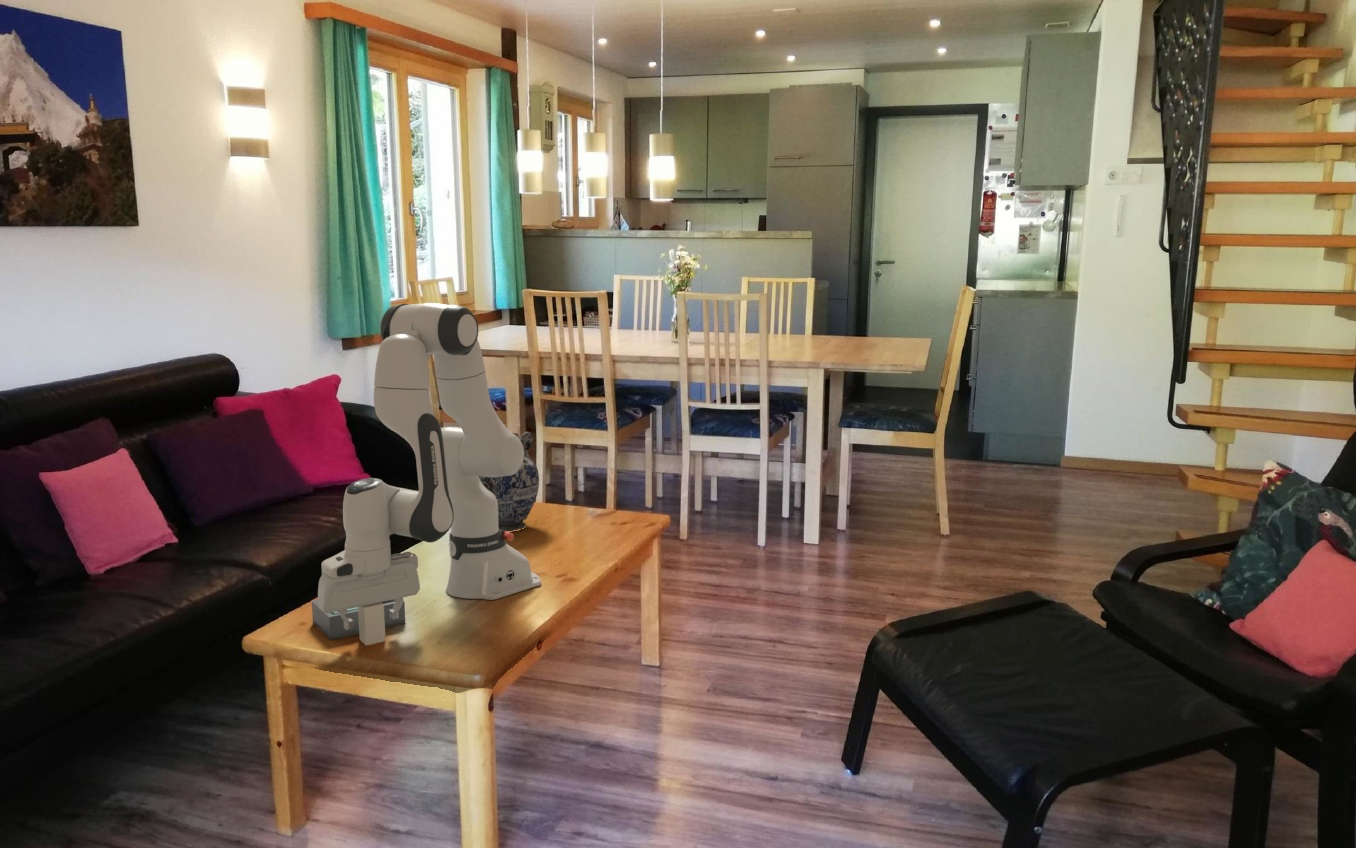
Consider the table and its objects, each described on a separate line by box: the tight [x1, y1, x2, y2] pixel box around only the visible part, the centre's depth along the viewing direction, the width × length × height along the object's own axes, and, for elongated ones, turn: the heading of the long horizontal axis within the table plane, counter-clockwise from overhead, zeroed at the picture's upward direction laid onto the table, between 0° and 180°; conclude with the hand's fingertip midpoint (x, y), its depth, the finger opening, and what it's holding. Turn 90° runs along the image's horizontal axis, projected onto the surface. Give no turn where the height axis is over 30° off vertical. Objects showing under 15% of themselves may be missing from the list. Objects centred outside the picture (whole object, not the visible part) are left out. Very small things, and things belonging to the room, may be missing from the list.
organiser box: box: [311, 599, 406, 641], centre depth 206 cm, size 16×12×5 cm
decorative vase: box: [479, 431, 540, 531], centre depth 279 cm, size 21×19×28 cm
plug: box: [358, 602, 386, 646], centre depth 197 cm, size 4×4×9 cm
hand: (371, 623), depth 197 cm, fingers open, 8 cm apart
